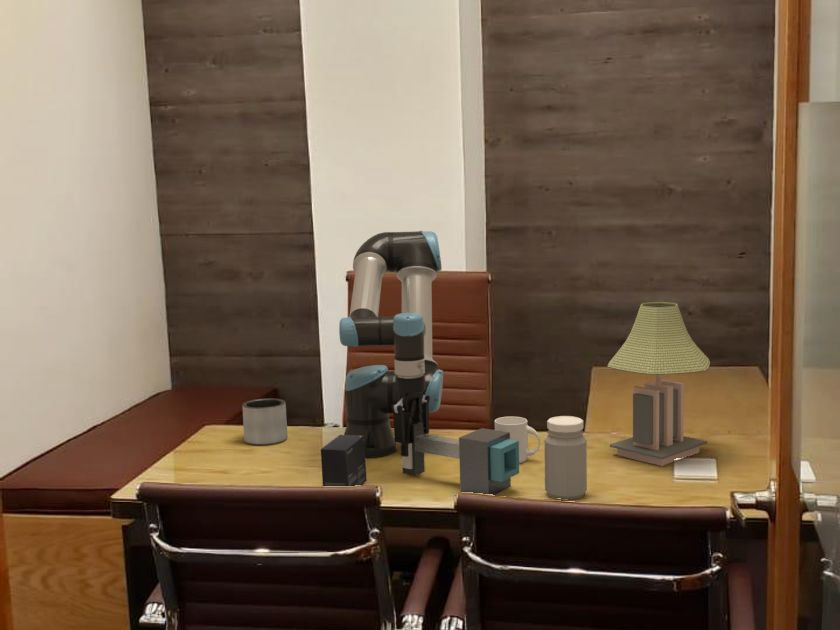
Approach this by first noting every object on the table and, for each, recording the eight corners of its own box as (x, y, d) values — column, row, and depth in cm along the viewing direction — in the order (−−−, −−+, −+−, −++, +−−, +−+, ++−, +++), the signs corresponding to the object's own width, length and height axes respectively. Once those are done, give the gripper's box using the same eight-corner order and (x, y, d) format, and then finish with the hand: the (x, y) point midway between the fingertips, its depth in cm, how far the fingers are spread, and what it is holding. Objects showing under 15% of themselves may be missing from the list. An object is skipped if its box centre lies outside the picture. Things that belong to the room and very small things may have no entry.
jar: (544, 487, 247) (543, 415, 245) (585, 487, 246) (584, 414, 244) (545, 501, 238) (544, 425, 235) (588, 501, 237) (587, 425, 234)
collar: (490, 479, 241) (490, 447, 240) (508, 471, 247) (508, 438, 246) (501, 482, 239) (500, 448, 238) (519, 473, 246) (518, 440, 244)
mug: (536, 466, 265) (536, 426, 263) (491, 463, 268) (490, 423, 267) (543, 457, 273) (543, 417, 271) (499, 454, 277) (499, 415, 275)
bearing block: (460, 492, 246) (458, 437, 244) (483, 481, 254) (481, 428, 252) (488, 498, 241) (487, 442, 239) (510, 486, 249) (509, 432, 247)
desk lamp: (675, 475, 254) (676, 315, 248) (585, 453, 275) (584, 305, 269) (732, 454, 270) (734, 303, 264) (643, 434, 291) (644, 294, 285)
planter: (245, 436, 303) (243, 399, 302) (288, 433, 305) (286, 396, 303) (242, 447, 291) (240, 409, 289) (287, 445, 292) (285, 406, 291)
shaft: (402, 473, 259) (400, 422, 258) (412, 469, 263) (410, 419, 261) (496, 491, 243) (495, 437, 241) (505, 487, 246) (504, 433, 244)
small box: (341, 479, 259) (339, 433, 257) (367, 481, 257) (365, 435, 255) (322, 496, 246) (319, 448, 244) (348, 498, 244) (346, 449, 242)
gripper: (401, 383, 247) (404, 476, 251) (441, 370, 261) (444, 459, 264) (377, 380, 252) (380, 472, 255) (417, 367, 265) (420, 455, 269)
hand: (413, 465), depth 260 cm, fingers closed on shaft, 4 cm apart
